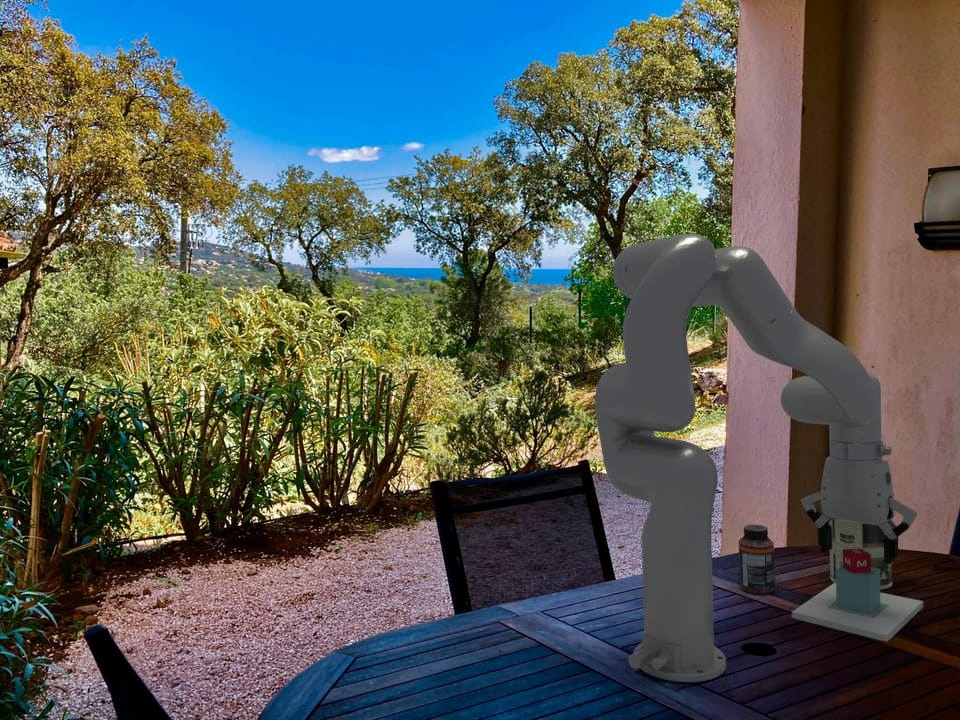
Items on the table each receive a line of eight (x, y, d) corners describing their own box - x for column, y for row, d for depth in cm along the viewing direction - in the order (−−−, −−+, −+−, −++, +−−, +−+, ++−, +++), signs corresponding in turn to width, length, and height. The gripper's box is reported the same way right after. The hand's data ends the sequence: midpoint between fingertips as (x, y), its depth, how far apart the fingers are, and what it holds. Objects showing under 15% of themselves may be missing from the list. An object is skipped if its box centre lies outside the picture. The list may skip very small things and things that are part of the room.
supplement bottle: (745, 581, 136) (743, 521, 136) (778, 587, 133) (777, 525, 132) (735, 591, 131) (733, 528, 131) (770, 597, 128) (768, 533, 127)
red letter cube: (842, 567, 121) (842, 549, 121) (860, 566, 121) (860, 548, 121) (853, 573, 118) (852, 554, 118) (871, 572, 118) (870, 553, 118)
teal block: (880, 605, 120) (879, 569, 119) (869, 614, 116) (868, 576, 116) (848, 598, 123) (847, 562, 123) (836, 606, 120) (835, 570, 120)
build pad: (887, 641, 108) (886, 634, 108) (791, 618, 119) (791, 611, 118) (923, 607, 121) (922, 600, 121) (834, 588, 131) (834, 582, 131)
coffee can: (890, 575, 137) (889, 500, 136) (894, 593, 128) (893, 513, 127) (829, 569, 141) (827, 496, 141) (829, 586, 132) (827, 508, 132)
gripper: (922, 453, 115) (924, 561, 116) (810, 444, 128) (812, 541, 128) (907, 459, 110) (909, 572, 111) (792, 449, 122) (794, 551, 123)
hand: (857, 556), depth 119 cm, fingers open, 9 cm apart
